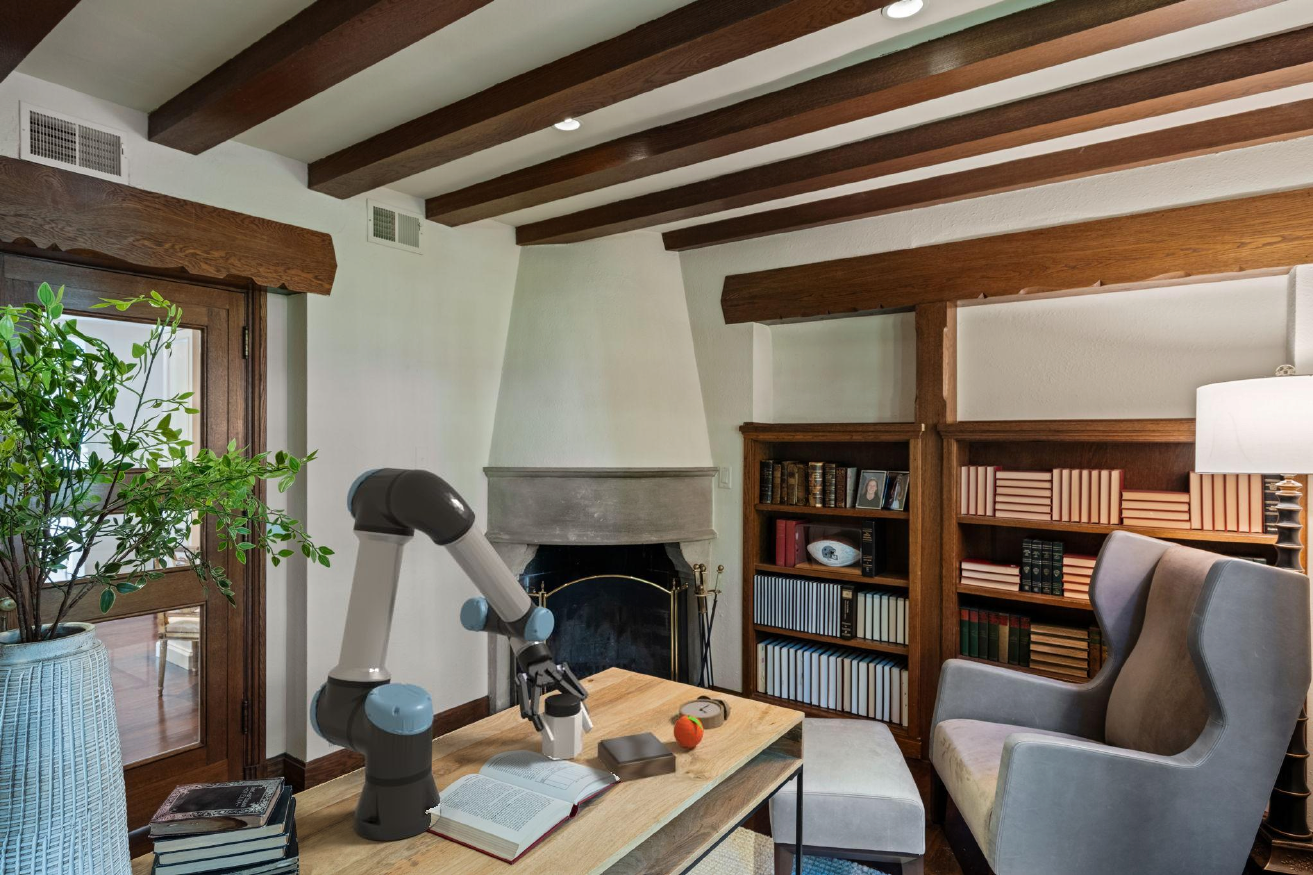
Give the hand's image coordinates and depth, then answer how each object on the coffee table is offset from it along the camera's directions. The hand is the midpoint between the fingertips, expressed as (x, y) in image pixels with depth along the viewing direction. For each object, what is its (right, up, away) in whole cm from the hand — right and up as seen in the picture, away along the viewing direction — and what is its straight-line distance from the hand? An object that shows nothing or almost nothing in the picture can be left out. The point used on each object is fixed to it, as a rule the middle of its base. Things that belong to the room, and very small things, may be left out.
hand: (570, 736), depth 164 cm
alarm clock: (+31, -5, +23) cm, 39 cm away
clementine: (+27, -5, +6) cm, 28 cm away
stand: (+15, -5, -4) cm, 16 cm away
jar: (-2, -5, +2) cm, 6 cm away
